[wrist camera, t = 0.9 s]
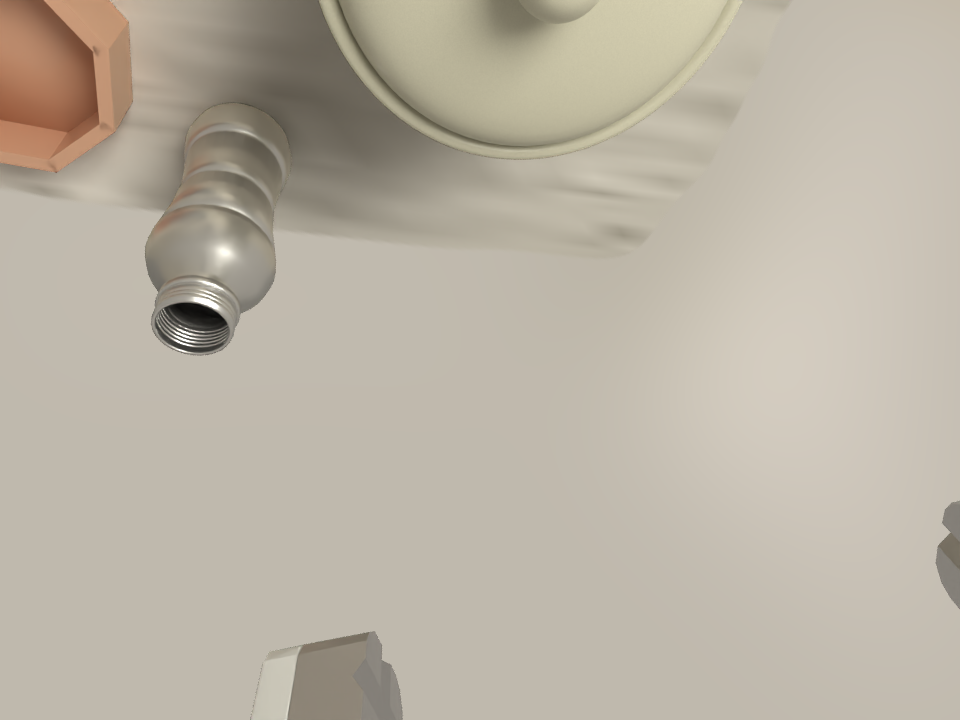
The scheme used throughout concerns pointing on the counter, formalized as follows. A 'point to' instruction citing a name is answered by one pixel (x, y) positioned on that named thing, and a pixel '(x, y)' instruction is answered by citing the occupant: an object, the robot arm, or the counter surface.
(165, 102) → the counter surface
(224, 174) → the silver metal bottle
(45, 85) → the terracotta bowl
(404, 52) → the canister
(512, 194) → the counter surface
